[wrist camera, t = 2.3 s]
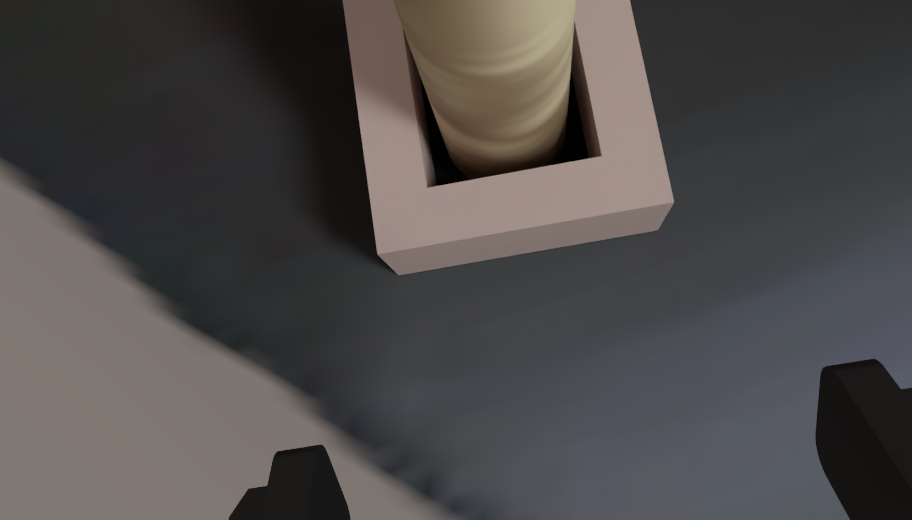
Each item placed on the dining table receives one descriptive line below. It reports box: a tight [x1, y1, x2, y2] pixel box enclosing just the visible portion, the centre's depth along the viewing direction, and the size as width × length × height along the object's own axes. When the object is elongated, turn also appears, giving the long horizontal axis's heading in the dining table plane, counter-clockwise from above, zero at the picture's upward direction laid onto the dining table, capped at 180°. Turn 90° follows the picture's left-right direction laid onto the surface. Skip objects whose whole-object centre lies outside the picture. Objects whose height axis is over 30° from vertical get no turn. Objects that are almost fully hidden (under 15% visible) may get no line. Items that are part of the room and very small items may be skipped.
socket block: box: [343, 0, 674, 275], centre depth 30 cm, size 10×10×4 cm
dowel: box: [393, 0, 576, 180], centre depth 26 cm, size 5×5×12 cm
